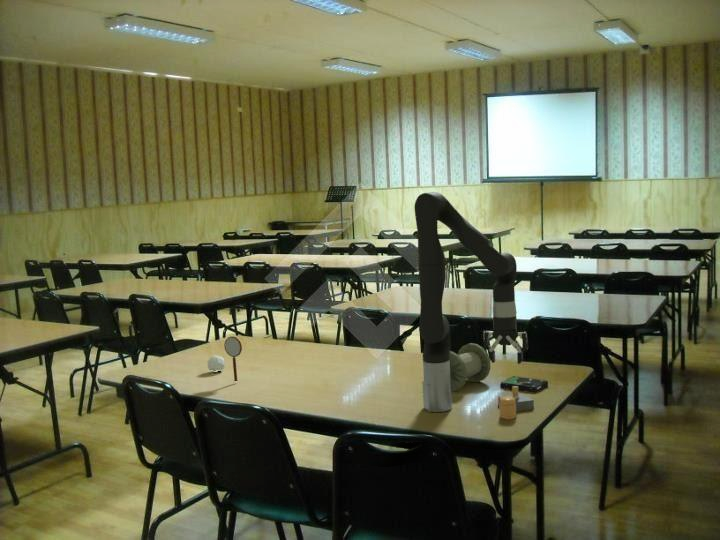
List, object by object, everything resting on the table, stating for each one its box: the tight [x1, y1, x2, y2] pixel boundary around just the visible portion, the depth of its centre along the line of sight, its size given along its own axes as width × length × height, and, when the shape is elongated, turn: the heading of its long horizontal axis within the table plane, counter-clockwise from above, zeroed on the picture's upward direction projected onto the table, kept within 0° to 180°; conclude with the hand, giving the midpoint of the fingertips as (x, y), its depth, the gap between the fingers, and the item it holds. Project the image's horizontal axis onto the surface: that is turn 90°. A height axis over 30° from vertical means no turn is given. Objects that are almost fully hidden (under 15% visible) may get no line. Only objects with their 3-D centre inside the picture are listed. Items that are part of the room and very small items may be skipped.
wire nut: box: [498, 397, 517, 420], centre depth 247 cm, size 5×5×6 cm
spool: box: [449, 342, 491, 392], centre depth 287 cm, size 16×15×15 cm
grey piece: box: [497, 386, 535, 412], centre depth 257 cm, size 9×9×7 cm
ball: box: [207, 355, 226, 371], centre depth 333 cm, size 8×8×8 cm
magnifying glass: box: [224, 336, 243, 382], centre depth 311 cm, size 9×2×20 cm, turn 62°
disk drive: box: [499, 375, 549, 394], centre depth 280 cm, size 10×3×15 cm
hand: (506, 362), depth 245 cm, fingers open, 8 cm apart
